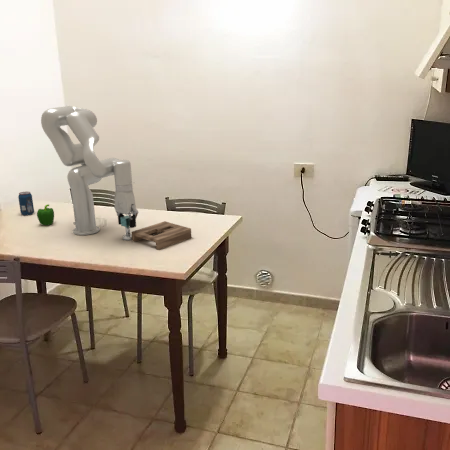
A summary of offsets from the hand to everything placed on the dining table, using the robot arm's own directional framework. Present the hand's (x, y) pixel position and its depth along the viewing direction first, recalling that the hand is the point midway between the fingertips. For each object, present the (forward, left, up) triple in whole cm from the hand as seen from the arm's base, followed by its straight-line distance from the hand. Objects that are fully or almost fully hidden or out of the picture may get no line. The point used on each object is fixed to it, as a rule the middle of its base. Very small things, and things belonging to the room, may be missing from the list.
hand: (127, 225), depth 231 cm
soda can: (-77, -9, -7) cm, 78 cm away
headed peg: (0, 0, -6) cm, 6 cm away
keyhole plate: (+13, +9, -6) cm, 17 cm away
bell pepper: (-51, -12, -7) cm, 53 cm away
